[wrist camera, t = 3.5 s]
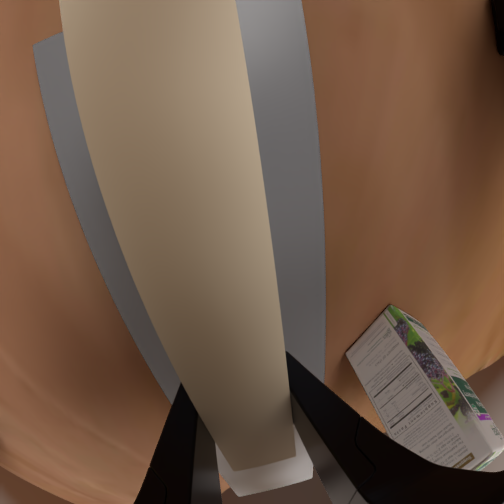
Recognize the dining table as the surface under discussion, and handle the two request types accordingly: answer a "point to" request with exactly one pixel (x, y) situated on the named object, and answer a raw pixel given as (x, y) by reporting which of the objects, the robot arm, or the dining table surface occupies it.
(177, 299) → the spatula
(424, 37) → the dining table surface
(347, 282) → the dining table surface
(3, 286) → the dining table surface
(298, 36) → the charcoal board
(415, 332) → the syrup box
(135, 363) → the dining table surface
